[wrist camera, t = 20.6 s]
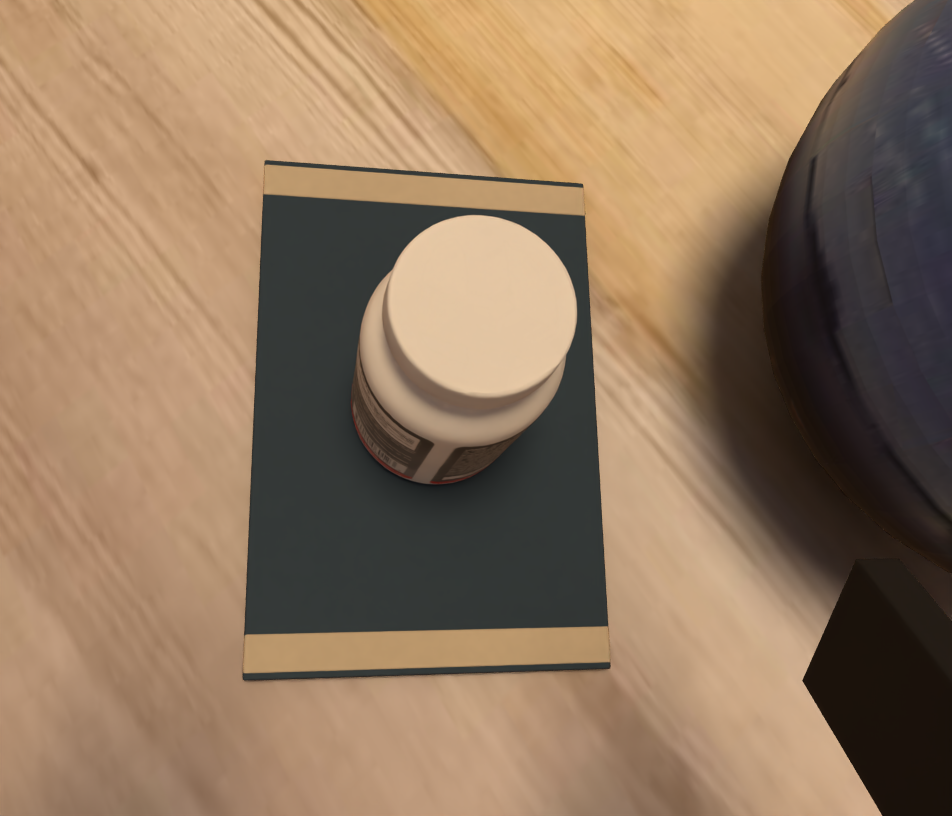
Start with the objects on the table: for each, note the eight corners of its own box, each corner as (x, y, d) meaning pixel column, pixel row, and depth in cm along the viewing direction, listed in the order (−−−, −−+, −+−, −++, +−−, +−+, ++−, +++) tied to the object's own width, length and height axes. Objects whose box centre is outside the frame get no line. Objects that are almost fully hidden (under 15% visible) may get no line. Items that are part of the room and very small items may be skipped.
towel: (605, 667, 30) (611, 668, 29) (243, 679, 27) (242, 680, 27) (579, 190, 34) (584, 182, 33) (265, 167, 32) (264, 158, 31)
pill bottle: (517, 341, 31) (608, 215, 22) (505, 496, 30) (597, 433, 20) (359, 317, 30) (381, 176, 21) (339, 476, 29) (352, 402, 19)
